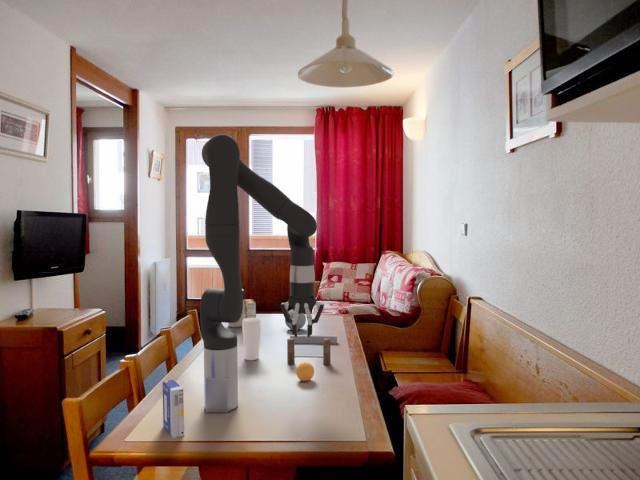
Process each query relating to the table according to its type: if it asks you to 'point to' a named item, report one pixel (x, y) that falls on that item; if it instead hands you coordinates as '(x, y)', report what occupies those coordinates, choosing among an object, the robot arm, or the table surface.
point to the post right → (326, 351)
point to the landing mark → (309, 351)
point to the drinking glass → (251, 337)
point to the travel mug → (239, 323)
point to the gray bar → (314, 338)
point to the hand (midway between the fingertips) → (302, 336)
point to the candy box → (250, 308)
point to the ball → (305, 371)
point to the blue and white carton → (173, 408)
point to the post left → (290, 351)
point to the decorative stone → (300, 320)
